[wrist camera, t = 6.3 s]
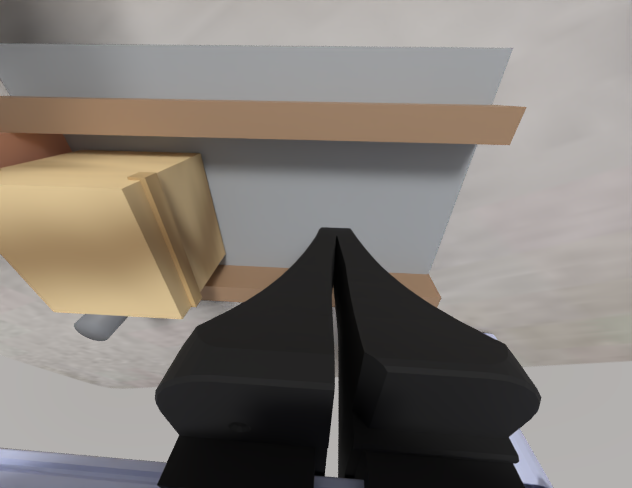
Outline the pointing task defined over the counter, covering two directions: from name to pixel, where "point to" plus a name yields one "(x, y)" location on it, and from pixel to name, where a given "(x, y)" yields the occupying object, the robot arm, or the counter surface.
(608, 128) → the counter surface
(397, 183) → the bay
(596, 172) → the counter surface
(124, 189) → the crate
